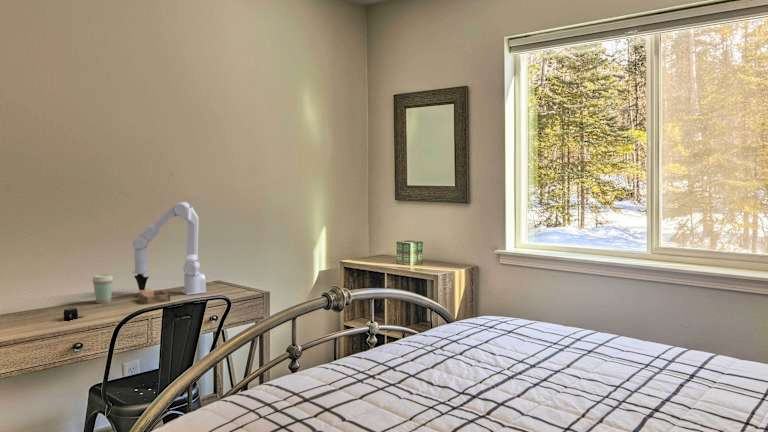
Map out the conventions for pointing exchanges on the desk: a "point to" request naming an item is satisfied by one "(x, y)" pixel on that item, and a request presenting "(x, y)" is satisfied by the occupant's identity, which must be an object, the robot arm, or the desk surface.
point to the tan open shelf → (154, 298)
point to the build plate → (68, 312)
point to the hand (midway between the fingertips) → (141, 289)
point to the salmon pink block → (147, 292)
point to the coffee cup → (103, 288)
